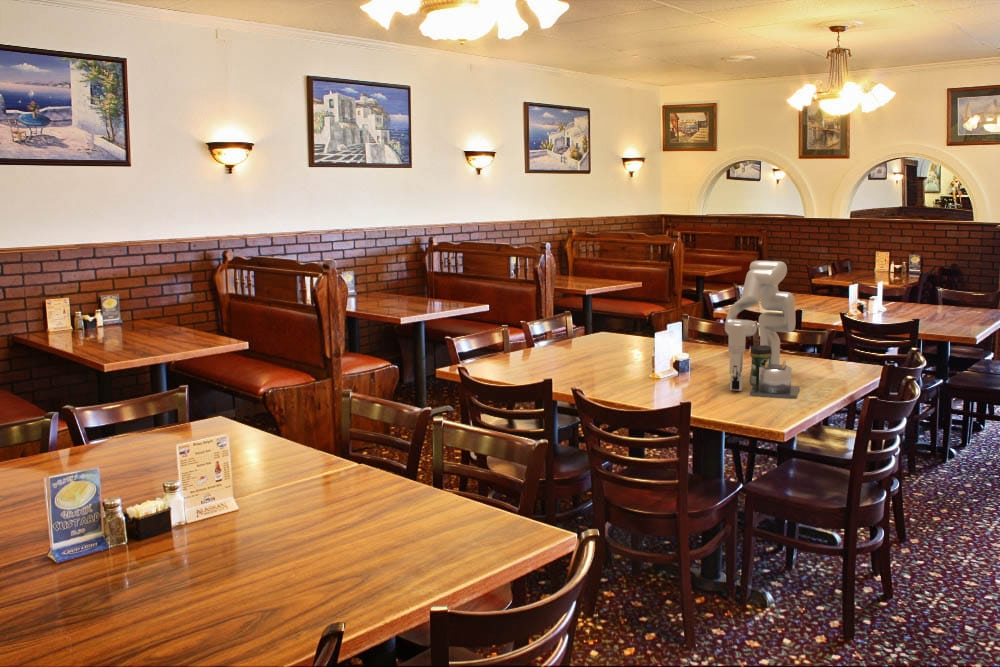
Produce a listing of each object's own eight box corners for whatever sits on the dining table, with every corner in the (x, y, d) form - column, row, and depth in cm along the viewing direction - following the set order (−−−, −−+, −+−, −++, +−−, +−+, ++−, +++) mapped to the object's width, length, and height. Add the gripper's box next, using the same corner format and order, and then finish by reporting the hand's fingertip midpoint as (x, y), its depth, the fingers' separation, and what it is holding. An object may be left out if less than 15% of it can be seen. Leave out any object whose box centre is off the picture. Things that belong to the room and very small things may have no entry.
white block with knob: (731, 387, 409) (731, 371, 408) (742, 388, 407) (742, 372, 406) (730, 389, 405) (730, 373, 403) (741, 390, 403) (741, 374, 401)
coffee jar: (764, 381, 425) (765, 343, 422) (773, 384, 417) (774, 346, 414) (746, 383, 422) (747, 345, 419) (755, 386, 415) (756, 347, 412)
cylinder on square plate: (754, 386, 414) (755, 356, 412) (799, 389, 407) (800, 358, 404) (749, 395, 396) (750, 364, 394) (796, 398, 388) (797, 367, 386)
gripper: (731, 345, 412) (730, 383, 415) (725, 352, 396) (725, 391, 400) (747, 346, 409) (746, 384, 412) (743, 353, 394) (742, 392, 397)
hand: (736, 387), depth 406 cm, fingers closed on white block with knob, 5 cm apart
